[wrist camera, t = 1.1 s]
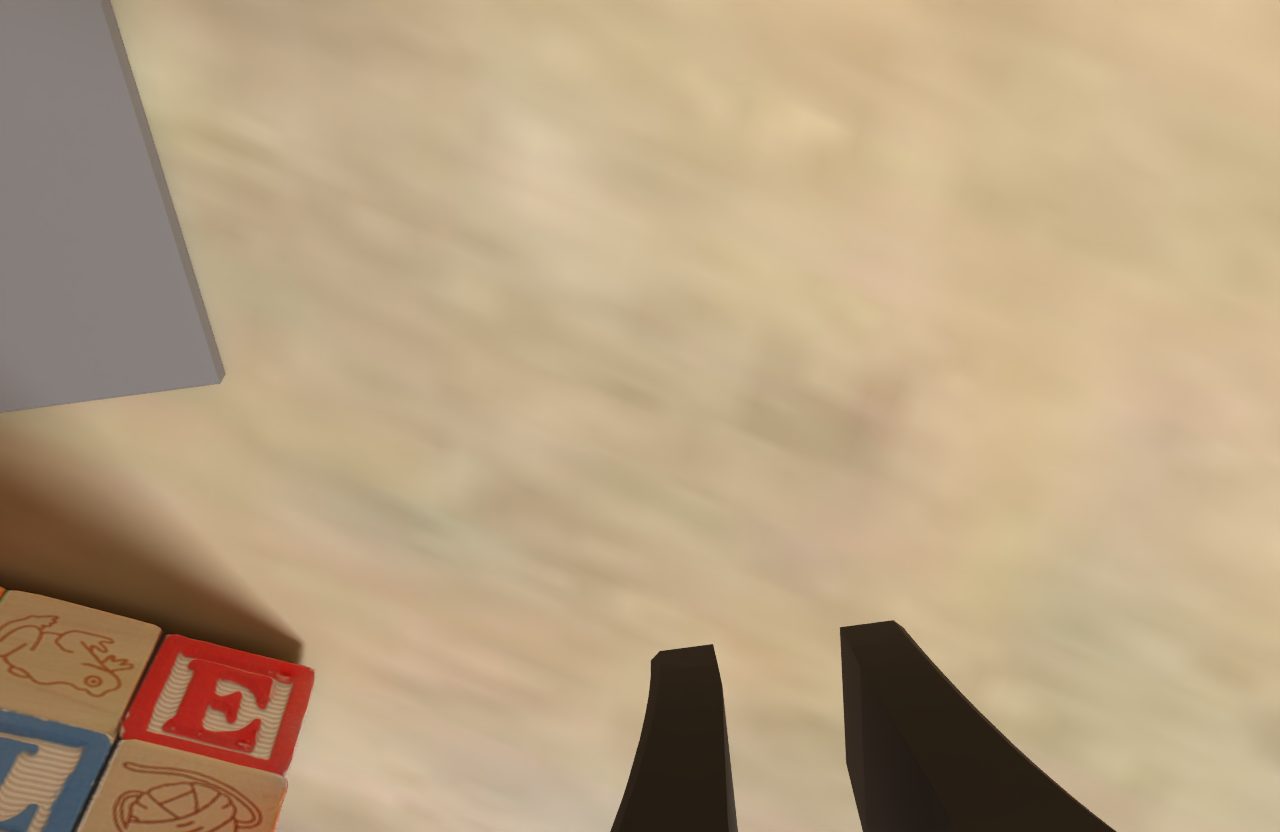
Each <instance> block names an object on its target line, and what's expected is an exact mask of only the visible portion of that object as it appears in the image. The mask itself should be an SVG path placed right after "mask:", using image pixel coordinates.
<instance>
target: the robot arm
mask: <svg viewBox="0 0 1280 832" xmlns="http://www.w3.org/2000/svg"><path fill="white" fill-rule="evenodd" d="M840 638H841V659H842V680H843V702H844V723H845V745H846V764H847V768H848V772H849V776H850V780H851V784H852V788H853V793H854V797H855V801H856V805H857V809H858V813H859V817H860V821H861V825H862V829H863V832H1116V831H1115V830H1114V829H1112V828H1111V827H1110V826H1108V825H1107V824H1106V823H1104V822H1103V821H1102V820H1101V819H1099V818H1098V817H1097V816H1096V815H1094V814H1093V813H1092V812H1090V811H1089V810H1088V809H1087V808H1086V807H1084V806H1083V805H1082V804H1081V803H1079V802H1078V801H1077V800H1076V799H1075V798H1073V797H1072V796H1071V795H1070V794H1069V793H1067V792H1066V791H1065V790H1064V789H1063V788H1062V787H1060V786H1059V785H1058V784H1057V783H1056V782H1055V781H1053V780H1052V779H1051V778H1050V777H1049V776H1048V775H1047V774H1045V773H1044V772H1043V771H1042V770H1041V769H1040V768H1038V767H1037V766H1036V765H1035V764H1034V763H1033V762H1032V761H1031V760H1030V759H1029V758H1027V757H1026V756H1025V755H1024V754H1023V753H1022V752H1021V751H1020V750H1019V749H1018V748H1017V747H1015V746H1014V745H1013V744H1012V743H1011V742H1010V741H1009V740H1008V739H1007V738H1006V737H1005V736H1004V735H1003V734H1002V733H1001V732H1000V731H999V730H998V729H997V728H996V727H995V726H994V725H993V724H992V723H991V722H990V721H989V720H988V719H987V718H986V717H985V716H983V715H982V714H981V713H980V712H979V711H978V710H977V709H976V708H975V707H974V706H973V704H972V703H971V702H970V701H969V700H968V699H967V698H966V697H965V696H964V695H963V694H962V693H961V692H960V691H959V690H958V689H957V688H956V687H955V686H954V685H953V684H952V682H951V681H950V680H949V679H948V678H947V677H946V676H945V675H944V674H943V673H942V672H941V671H940V670H939V668H938V667H937V666H936V665H935V664H934V663H933V662H932V661H931V660H930V658H929V657H928V656H927V655H926V654H925V653H924V652H923V650H922V649H921V648H920V647H919V646H918V645H917V643H916V642H915V641H914V640H913V639H912V638H911V636H910V635H909V634H908V633H907V632H906V630H905V629H904V628H903V627H902V626H900V625H899V624H898V623H896V622H895V621H894V620H892V621H885V622H877V623H870V624H862V625H855V626H847V627H840ZM610 832H738V828H737V819H736V809H735V800H734V791H733V782H732V772H731V763H730V754H729V744H728V735H727V726H726V716H725V707H724V698H723V689H722V682H721V678H720V673H719V668H718V664H717V660H716V655H715V651H714V647H713V644H711V645H703V646H696V647H688V648H681V649H673V650H666V651H660V652H659V653H658V654H657V655H656V656H655V657H654V658H653V659H652V660H651V680H650V690H649V697H648V703H647V709H646V714H645V719H644V723H643V728H642V732H641V737H640V741H639V744H638V748H637V751H636V755H635V758H634V762H633V765H632V769H631V773H630V776H629V780H628V783H627V786H626V790H625V793H624V796H623V799H622V801H621V804H620V807H619V810H618V812H617V815H616V818H615V821H614V823H613V826H612V829H611V831H610Z"/></svg>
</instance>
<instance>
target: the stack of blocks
mask: <svg viewBox="0 0 1280 832" xmlns="http://www.w3.org/2000/svg"><path fill="white" fill-rule="evenodd" d="M314 680H315V669H312V668H309V667H306V666H303V665H299V664H294V663H289V662H286V661H282V660H278V659H274V658H269V657H265V656H261V655H257V654H252V653H248V652H244V651H240V650H236V649H232V648H228V647H224V646H220V645H217V644H213V643H209V642H205V641H200V640H195V639H191V638H187V637H184V636H181V635H178V634H172V635H166V634H163V632H162V630H161V628H160V627H158V626H156V625H154V624H150V623H146V622H143V621H139V620H135V619H132V618H128V617H124V616H120V615H116V614H113V613H109V612H105V611H101V610H97V609H94V608H90V607H86V606H82V605H78V604H75V603H71V602H67V601H63V600H59V599H55V598H51V597H47V596H43V595H39V594H33V593H28V592H23V591H12V590H6V589H4V588H2V587H1V586H0V832H275V829H276V826H277V822H278V818H279V814H280V811H281V807H282V803H283V800H284V798H285V795H286V792H287V787H288V781H287V779H286V778H287V775H288V772H289V769H290V766H291V763H292V760H293V757H294V753H295V750H296V747H297V744H298V741H299V737H300V734H301V731H302V728H303V724H304V721H305V718H306V714H307V711H308V707H309V703H310V699H311V694H312V689H313V685H314Z"/></svg>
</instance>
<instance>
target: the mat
mask: <svg viewBox="0 0 1280 832" xmlns="http://www.w3.org/2000/svg"><path fill="white" fill-rule="evenodd" d="M224 376H225V371H224V367H223V364H222V361H221V358H220V355H219V351H218V348H217V345H216V342H215V338H214V335H213V332H212V329H211V325H210V322H209V319H208V316H207V312H206V309H205V306H204V303H203V300H202V296H201V293H200V290H199V287H198V283H197V280H196V277H195V274H194V270H193V267H192V264H191V261H190V258H189V254H188V251H187V248H186V245H185V241H184V238H183V235H182V232H181V228H180V225H179V222H178V219H177V215H176V212H175V209H174V206H173V203H172V199H171V196H170V193H169V190H168V186H167V183H166V180H165V177H164V173H163V170H162V167H161V164H160V161H159V157H158V154H157V151H156V148H155V144H154V141H153V138H152V135H151V131H150V128H149V125H148V122H147V118H146V115H145V112H144V109H143V106H142V102H141V99H140V96H139V93H138V89H137V86H136V83H135V80H134V76H133V73H132V70H131V67H130V64H129V60H128V57H127V54H126V51H125V47H124V44H123V41H122V38H121V34H120V31H119V28H118V25H117V21H116V18H115V15H114V12H113V9H112V5H111V2H110V0H0V413H1V412H9V411H16V410H24V409H32V408H39V407H47V406H54V405H62V404H70V403H77V402H85V401H92V400H100V399H108V398H115V397H123V396H130V395H138V394H145V393H153V392H161V391H168V390H176V389H183V388H191V387H199V386H206V385H214V384H220V383H221V381H222V379H223V378H224Z"/></svg>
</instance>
